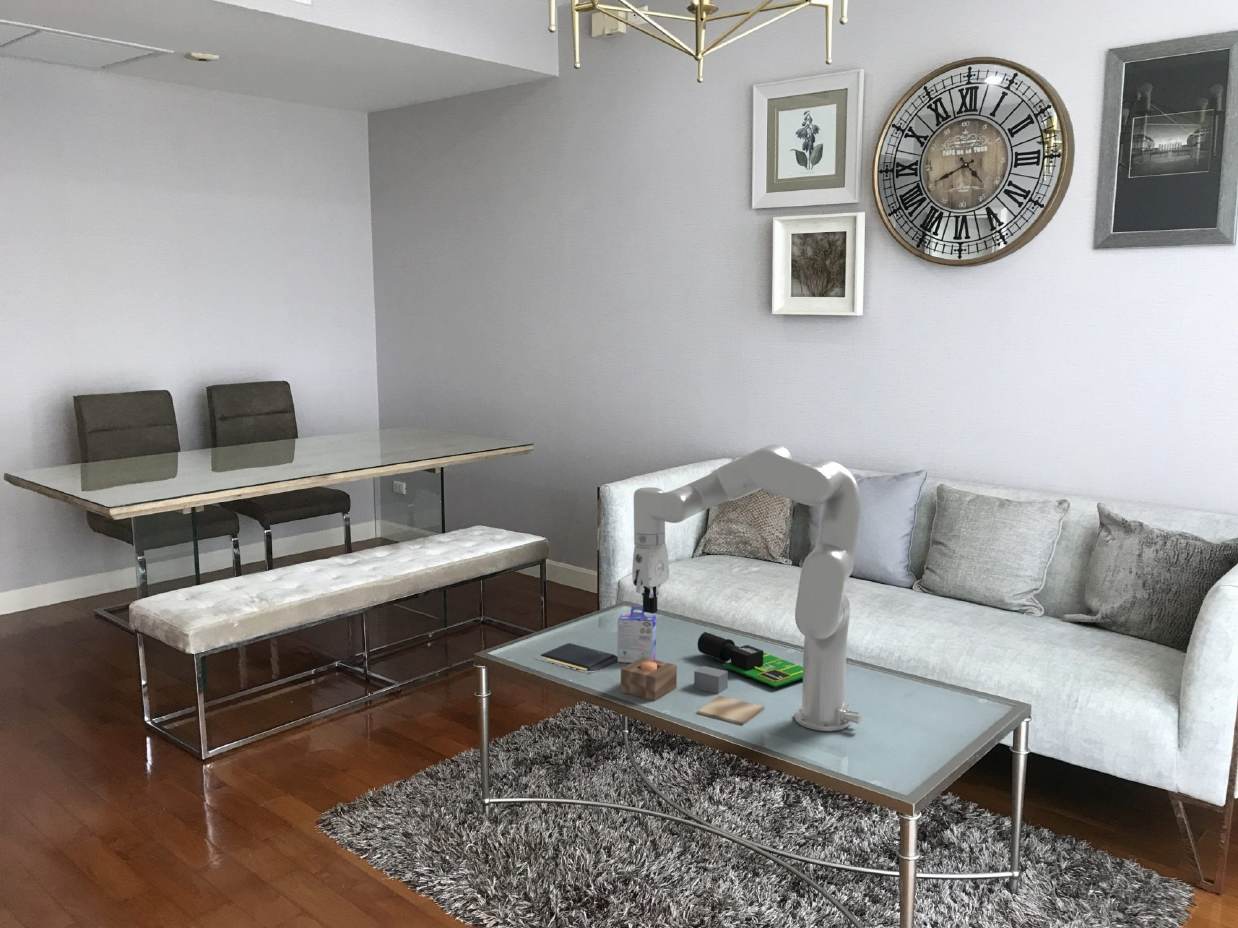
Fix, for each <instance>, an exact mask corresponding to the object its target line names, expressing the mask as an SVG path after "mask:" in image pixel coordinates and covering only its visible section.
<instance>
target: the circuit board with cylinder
mask: <svg viewBox="0 0 1238 928" xmlns="http://www.w3.org/2000/svg"><path fill="white" fill-rule="evenodd" d="M697 649H698V651H699V652H700V653H702V654H703V655H705V656H708V657H711V658H714V659H717V660H719V661H721V662H724V663H723V664H722V666H723V667H724V668H727V669H730V672H731V673H735V674H737V675H740V676H743V677H745V678H752V679H754V680H756V681H759V682H761V683H765V684H767V685H769V686H772V687H774V688H778V687H780V686H783V685H787V684H790V683H792V682H794V681H795V682H796V681H798V680H801V679H803V666H802V665H799V664H797V663H793V662H790V661H788V660H785V659H782V658H779V657H777V656H774V655H772V654H769V653H765V652H764V650H763V649H760V648H756V647H754V646H751V645H750V644H745V645H742V646H737V645H736V643H735V641H734V640H732V639H730V638H728V637H725V636H722V635H719V634H716V633H713V632H710V631H704V632H703V633H701V634H700V636H699V638H698V640H697ZM729 661H730V662H729ZM726 662H727V663H726Z"/></svg>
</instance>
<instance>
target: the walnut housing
mask: <svg viewBox="0 0 1238 928" xmlns="http://www.w3.org/2000/svg"><path fill="white" fill-rule="evenodd" d="M643 662H654V663H656V664H657V669H656V670H654V671H652V672H651V671H647V670H642V669H641V663H643ZM677 667H678V666H677V664H673V663H670V662H665V661H661V660H657V659H655V660H653V659H649V658H644V657H642V658H641V659H639V660H637V661H635V662H633V663H629V664H627V665H625V666H624V667H622V668H620V692H621V693H623V692H624V693H623V694H626V693H629V694H628V695H630V694H633V695H632V696H634V695H635V697H638V696H639V697H638V698H642V697H644V698H643V699H646V698H647V700H649V699H650V701H654V702H656V701H658V700H659V699H661V698H662V697H665V695H667V694H669V693H671V692H672V691H674V690H676V689H677V688H678V687H677V676H678V675H677V669H678V668H677Z"/></svg>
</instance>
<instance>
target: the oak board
mask: <svg viewBox="0 0 1238 928" xmlns="http://www.w3.org/2000/svg"><path fill="white" fill-rule="evenodd" d="M764 710H765V706H763V705H759V704H754V703H752V702H747V701H744V700H739V699H735V698H731V697H728V696H727V697H726V696H723V695H718V696H717V697H715V698H714V699H712V700H711V701H709V702H708V703H706V704H705V705H703V706H701V707H700V708H699V709H697V710H696V713H697V714H699V715H703V716H707V717H712V718H715V719H719V720H722V721H727V722H731V723H734V724H737V725H742V726H744V725H745V724H747V722H749V721H750V720H752V719H753V718H755V717H756V716H757V715H759V714H760V713H761V712H763V711H764Z"/></svg>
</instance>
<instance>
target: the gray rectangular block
mask: <svg viewBox="0 0 1238 928" xmlns="http://www.w3.org/2000/svg"><path fill="white" fill-rule="evenodd" d="M693 674H694V675H693V677H694V679H693V680H694V681H693V682H694V683H693V687H694V689H698V690H701V691H704V692H705V691H707V692H710V693H713V694H718V695H719V694H721V693H722V692H724V691H726V690H728V686H729V685H728V684H729V683H728V678H729V677H728V675H729V671H728V670H723V669H719V668H715V667H711V666H705V665H703V666H701V667H699V668H697V669H696V670H694V671H693Z"/></svg>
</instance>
